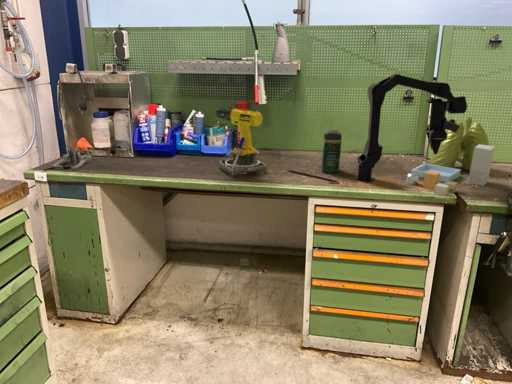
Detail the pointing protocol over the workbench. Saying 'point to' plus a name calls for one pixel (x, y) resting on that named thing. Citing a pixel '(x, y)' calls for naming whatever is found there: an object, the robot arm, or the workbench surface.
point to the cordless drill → (242, 141)
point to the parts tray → (445, 172)
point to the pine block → (452, 186)
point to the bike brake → (72, 160)
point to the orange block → (431, 179)
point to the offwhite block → (441, 189)
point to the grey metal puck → (412, 178)
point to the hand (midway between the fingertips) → (433, 151)
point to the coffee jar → (331, 151)
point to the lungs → (460, 145)
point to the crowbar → (315, 177)
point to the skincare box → (481, 164)
